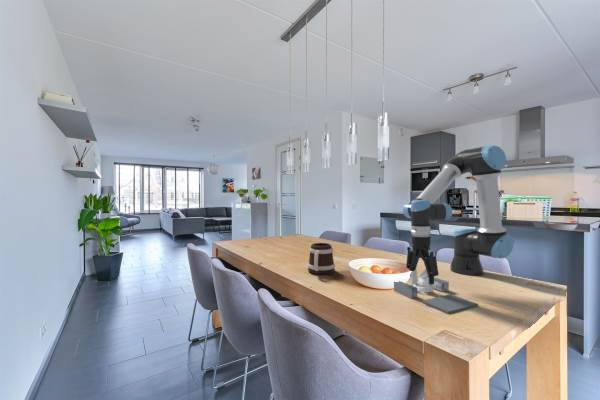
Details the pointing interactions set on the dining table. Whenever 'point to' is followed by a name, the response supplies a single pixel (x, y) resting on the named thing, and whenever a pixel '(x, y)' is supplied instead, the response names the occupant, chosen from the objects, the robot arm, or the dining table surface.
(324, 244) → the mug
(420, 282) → the hook
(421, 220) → the robot arm
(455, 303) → the mat
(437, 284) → the grey blocks
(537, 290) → the dining table surface
